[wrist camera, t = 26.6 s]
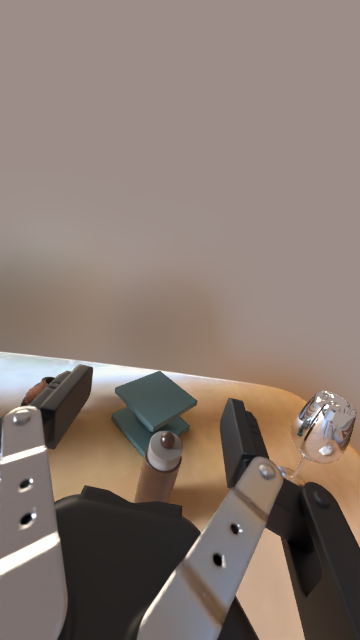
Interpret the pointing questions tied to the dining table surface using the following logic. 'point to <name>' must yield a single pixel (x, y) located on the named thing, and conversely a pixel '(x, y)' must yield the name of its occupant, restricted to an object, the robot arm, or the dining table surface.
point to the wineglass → (321, 431)
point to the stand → (152, 409)
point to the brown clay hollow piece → (36, 391)
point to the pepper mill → (159, 468)
